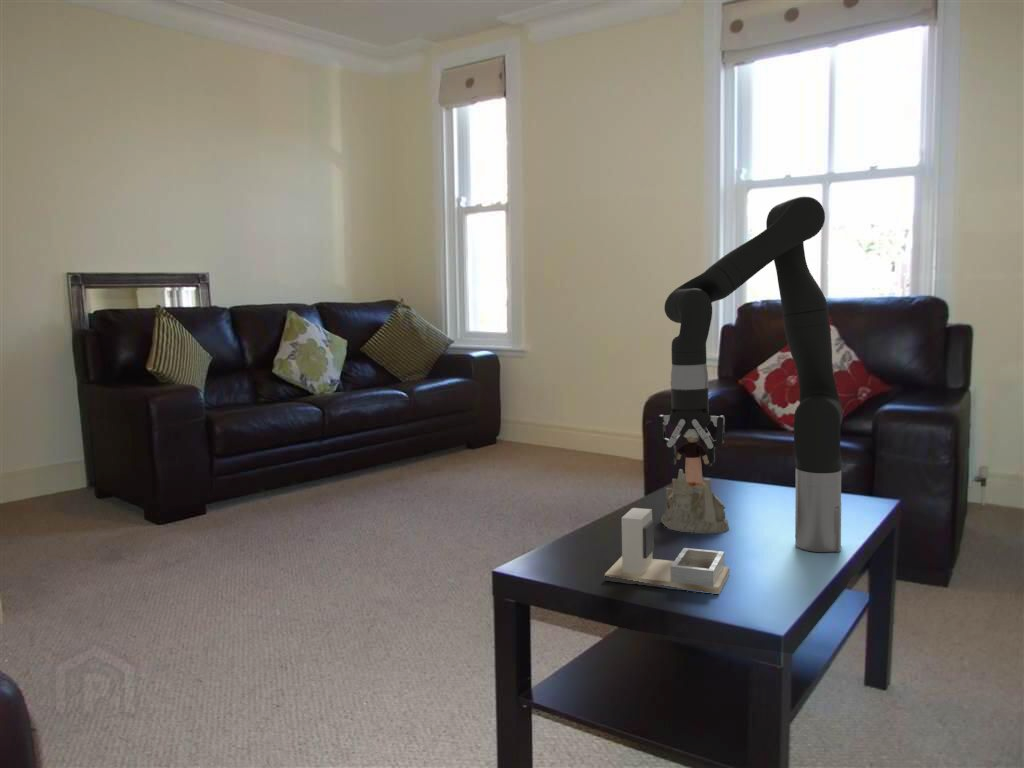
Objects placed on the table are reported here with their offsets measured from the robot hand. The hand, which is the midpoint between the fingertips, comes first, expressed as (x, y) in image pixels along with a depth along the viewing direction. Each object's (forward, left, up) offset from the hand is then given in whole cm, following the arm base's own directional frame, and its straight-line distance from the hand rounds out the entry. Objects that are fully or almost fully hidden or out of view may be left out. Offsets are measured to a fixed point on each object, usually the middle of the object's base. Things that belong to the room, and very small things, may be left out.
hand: (691, 464), depth 165 cm
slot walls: (-4, +13, -19) cm, 23 cm away
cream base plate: (+2, +13, -20) cm, 24 cm away
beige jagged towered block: (+5, -26, -21) cm, 34 cm away
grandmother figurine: (0, 0, -5) cm, 5 cm away
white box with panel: (+8, +13, -19) cm, 24 cm away
